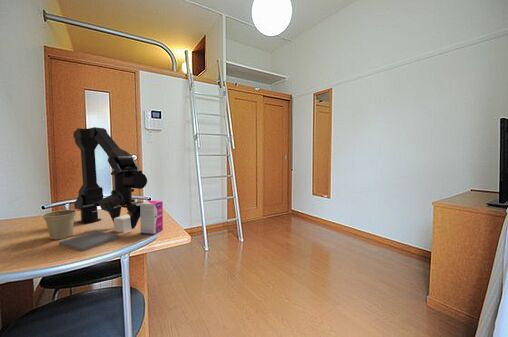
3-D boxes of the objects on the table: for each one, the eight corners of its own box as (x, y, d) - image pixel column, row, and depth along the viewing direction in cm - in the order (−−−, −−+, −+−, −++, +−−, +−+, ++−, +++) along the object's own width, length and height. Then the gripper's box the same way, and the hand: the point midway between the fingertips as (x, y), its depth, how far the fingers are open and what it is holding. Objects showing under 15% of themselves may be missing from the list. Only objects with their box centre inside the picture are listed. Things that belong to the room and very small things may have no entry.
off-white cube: (114, 231, 89) (113, 218, 89) (125, 227, 94) (125, 215, 94) (123, 232, 88) (123, 219, 87) (134, 228, 92) (134, 216, 92)
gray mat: (58, 245, 76) (58, 242, 75) (96, 233, 87) (96, 230, 87) (82, 251, 71) (82, 247, 71) (119, 237, 82) (119, 235, 82)
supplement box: (154, 235, 85) (153, 204, 84) (140, 234, 86) (138, 203, 85) (163, 230, 90) (162, 200, 89) (150, 229, 91) (149, 200, 91)
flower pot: (49, 243, 77) (48, 218, 76) (39, 238, 82) (37, 213, 81) (82, 235, 85) (81, 211, 84) (71, 230, 90) (70, 208, 89)
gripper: (85, 188, 86) (87, 230, 87) (121, 191, 79) (123, 237, 80) (113, 184, 96) (115, 222, 97) (147, 187, 89) (149, 227, 90)
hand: (124, 227), depth 91 cm, fingers open, 9 cm apart
